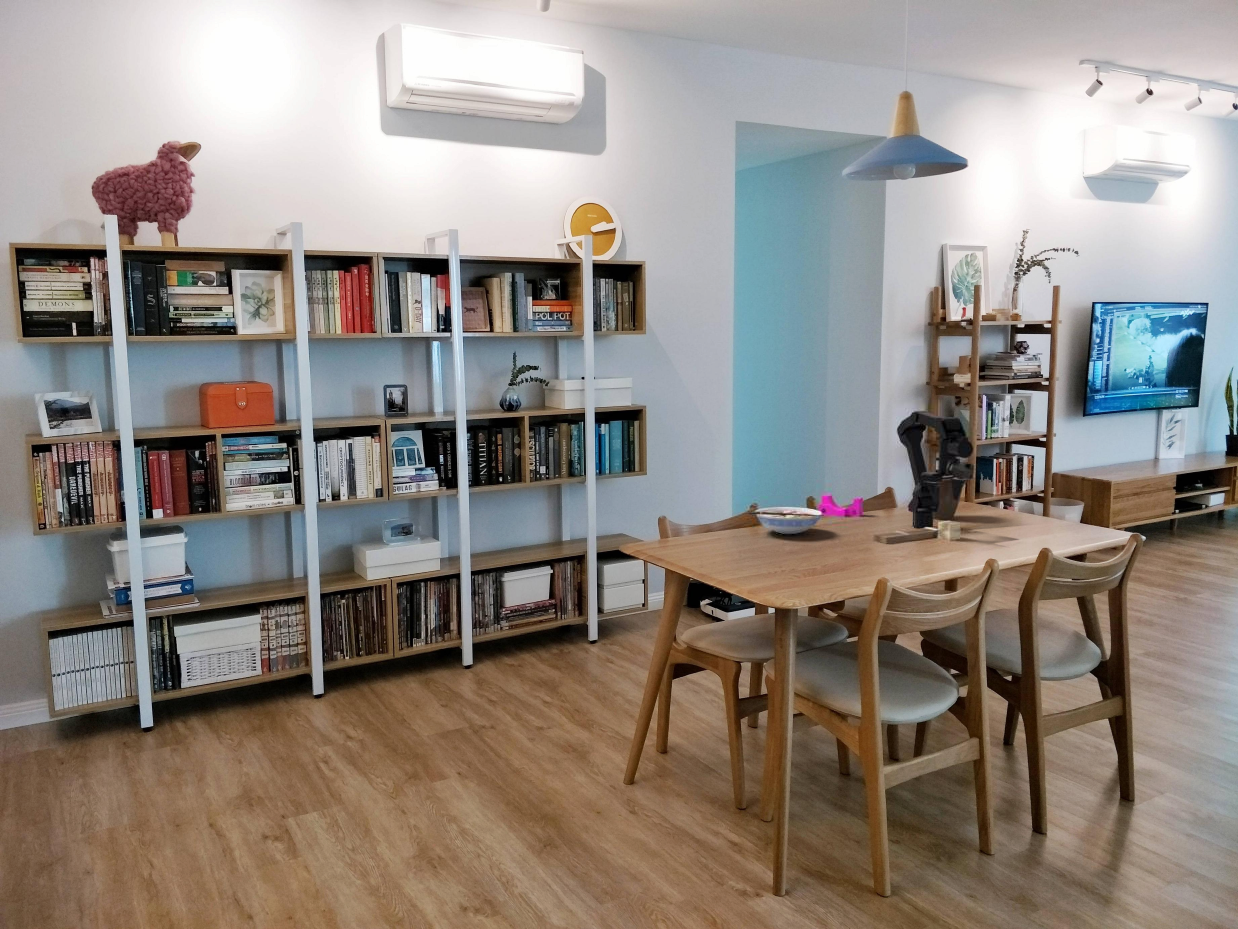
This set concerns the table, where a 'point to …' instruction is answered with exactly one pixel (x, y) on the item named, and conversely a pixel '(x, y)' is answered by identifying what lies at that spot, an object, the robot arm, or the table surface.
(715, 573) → the table surface
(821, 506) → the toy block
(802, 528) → the ramen bowl
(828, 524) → the table surface
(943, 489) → the plant pot
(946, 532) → the cream cube
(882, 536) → the walnut plank
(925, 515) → the robot arm
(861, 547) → the table surface
